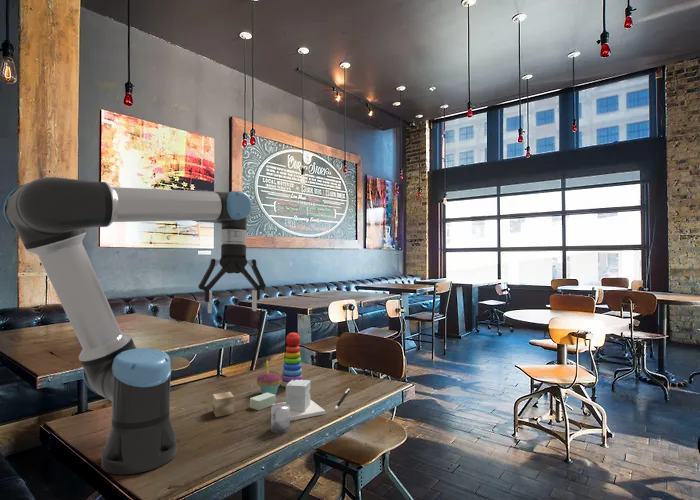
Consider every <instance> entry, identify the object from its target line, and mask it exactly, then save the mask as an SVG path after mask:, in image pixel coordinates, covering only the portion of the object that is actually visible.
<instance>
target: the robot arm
mask: <svg viewBox="0 0 700 500" xmlns="http://www.w3.org/2000/svg"><path fill="white" fill-rule="evenodd" d="M252 204H253V203H252V199H251V198H250V197H249V195H248V194H247V193H245V192H244V191H240V190H231V191H228V192H227V191H209V190H208V191H205V190H184V189H182V190H181V189H166V188H165V189H163V188H162V189H161V188H159V189H158V188H142V187H141V188H140V187H138V188H137V187H121V186H120V187H117V186H111V185H110V184H109V183H108V182H106V181H94V180H84V179H74V178H67V177H59V176H58V177H56V176H52V177H51V176H47V177H41V178H37V179H35V180H32V181H30V182H27V183H23V184H21V185H19V186H16V187H15V188H14V189H13V190H12V191H11V192H9V194H8V195H7V196H6V199H5V202H4V204H3V217H4V218H5V221H6V222H7V224H8V225H9V226H10V228H12V229H13V230H14V231H15V232H17V234H18V237H19V239H20V240H21V242H22V245H23V247H24V249H25V250H26V251H27V252H29V253H32V254H35V255H36V256H37V257H38V258H39V260H40V262H41V264H42V266H43V269H44V270H45V273H46V275H47V277H48V279H49V281H50V283H51V285H52V287H53V290H54V292H55V294H56V295H57V297H58V298H57V299H58V300H59V302H60V304H61V306H62V308H63V310H64V312H65V314H66V316H67V319H68V321H69V323H70V325H71V327H72V330H73V331H74V334H75V336H76V338H77V340H78V341H79V343H80V346H81V347H82V348H81V352H80V353H79V354H78V360H79V362H80V364H81V367H82V377H83V381H84V382H85V385H86V386H87V387H88V389H90V391H91V392H93V393H94V394H97V395H99V396H101V397H103V398H105V399H107V400H108V401H110V402H111V429H110V431H109V434H108V436H107V439H106V442H105V444H104V448H103V450H102V452H101V461H100V462H101V463H100V465H101V469H102V470H103V471H104V472H106V473H108V474H113V475H134V474H140V473H145V472H148V471H151V470H155V469H157V468H159V467H162V466H164V465H165V464H167V463H168V462H170V461H171V460H172V459H174V457H175V456H176V455H177V452H178V441H177V440H178V439H177V438H176V434H175V431H174V429H173V426H172V423H171V420H170V409H171V408H170V407H171V406H170V405H171V374H172V367H171V358H170V356H169V354H168V353H166V352H165V351H163V350H161V349H156V348H153V349H151V348H148V347H144V348H143V347H141V348H137V347H136V344H135V342H134V340H133V337H132V336H131V334H129V333H125V332H122V331H121V328H120V325H119V324H118V321H117V319H116V316H115V314H114V312H113V310H112V308H111V305H110V303H109V301H108V298H107V296H106V293H105V292H104V289H103V288H102V285H101V282H100V280H99V278H98V276H97V273H96V271H95V269H94V267H93V265H92V262H91V260H90V258H89V255H88V253H87V251H86V249H85V246H84V244H83V240H84V238H85V236H86V234H87V232H86V230H85V229H91V228H107V227H110V226H111V225H112V224H113V223H128V222H129V223H133V222H141V223H142V222H177V221H178V222H179V221H183V222H184V221H185V222H186V221H187V222H188V221H191V222H196V223H198V222H199V223H210V224H211V223H214V224H221V236H220V237H221V239H220V240H221V243H222V244H221V246H220V247H221V248H220V249H221V250H220V259H215V258H210V259H209V266H208V268H207V269H206V271H205V273H204V275H203V277H202V279H201V281H200V282H199V283H198V286H197V288H198V289H199V290H202V291H203V292H204V298H203V299H204V302H205V303H207V313H208V314H212V313H213V311H212V310H213V291H211V290H212V288H213V287H214V286H215V285H216V284H217V283H218V282H219V281H220V279H221V278H222V277H223V276H224V275H225V274H226V273H227V274H242V275H243V276H244V278H245V279H246V280H247V281H248V283H249V284H250V285H251V286H252V287H253V288H254V289H251V290H252V291H251V292H252V293H251V295H252V296H251V300H252V301H251V311H253V312H257V308H258V301H260V300H261V290H262V289H265V288H266V287H267V285H266V283H265V281H264V278H263V276H262V274H261V272H260V271H259V268H258V266H257V259H255V258H254V259H253V258H252V259H247V245H246V244H245V243H247V222H248V220H247V218H248V217H249V216H250V215H251V212H252V208H253V205H252ZM218 265H220V267H221V269H220V270H219V271H218V272H217V274H216V275H215V276H214V277H213V278H212V279H211V280H210V281H209V279H210V276H211V274H212V273H213V271H214V269H215V267H217V266H218ZM247 265H248V266H249V267H250V268H251V270H252V272H253V274H254V276H255V278H256V280H257V281H256V280H255V279H254V278H253V277H252V276H251V274H250V273H249V272H248V270H247V269H246V268H245V267H246V266H247ZM208 281H209V283H207V282H208ZM257 282H258V283H257Z"/></svg>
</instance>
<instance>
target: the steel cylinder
mask: <svg viewBox="0 0 700 500" xmlns="http://www.w3.org/2000/svg"><path fill="white" fill-rule="evenodd" d="M278 403H279V404H277V403H276V404H274V405H272V406H270V431H271V432H272V433H273V434H284V433H288V432H290V430H291V421H290V405H289V404H285V403H283V402H278Z"/></svg>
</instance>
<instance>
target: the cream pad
mask: <svg viewBox="0 0 700 500" xmlns="http://www.w3.org/2000/svg"><path fill="white" fill-rule="evenodd" d="M279 403H280V402H278V403H277V402H276V404H279ZM282 403H285V404H286V401H283V402H282ZM272 405H274V404H272ZM325 414H326V410H325V409H324V408H323V407H321V406H320V405H319V404H317V403H316V402H315V401H313V400H312V399H311V398H310V405H309V406H308V408H307V409H306V410H305V411H292V410H290V422H291V421H297V420H302V419H308V418H311V417H317V416H323V415H325Z"/></svg>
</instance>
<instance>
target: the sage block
mask: <svg viewBox="0 0 700 500" xmlns="http://www.w3.org/2000/svg"><path fill="white" fill-rule="evenodd" d="M272 404H277V395H276V394H271V393H268V392H267V393H264V394H262V393H261V394H259V395H256V396H253V397H250V398H249V408H251V409H253V410H257V411H261V410H264V409H266V408H268V407H271V406H272Z"/></svg>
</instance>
